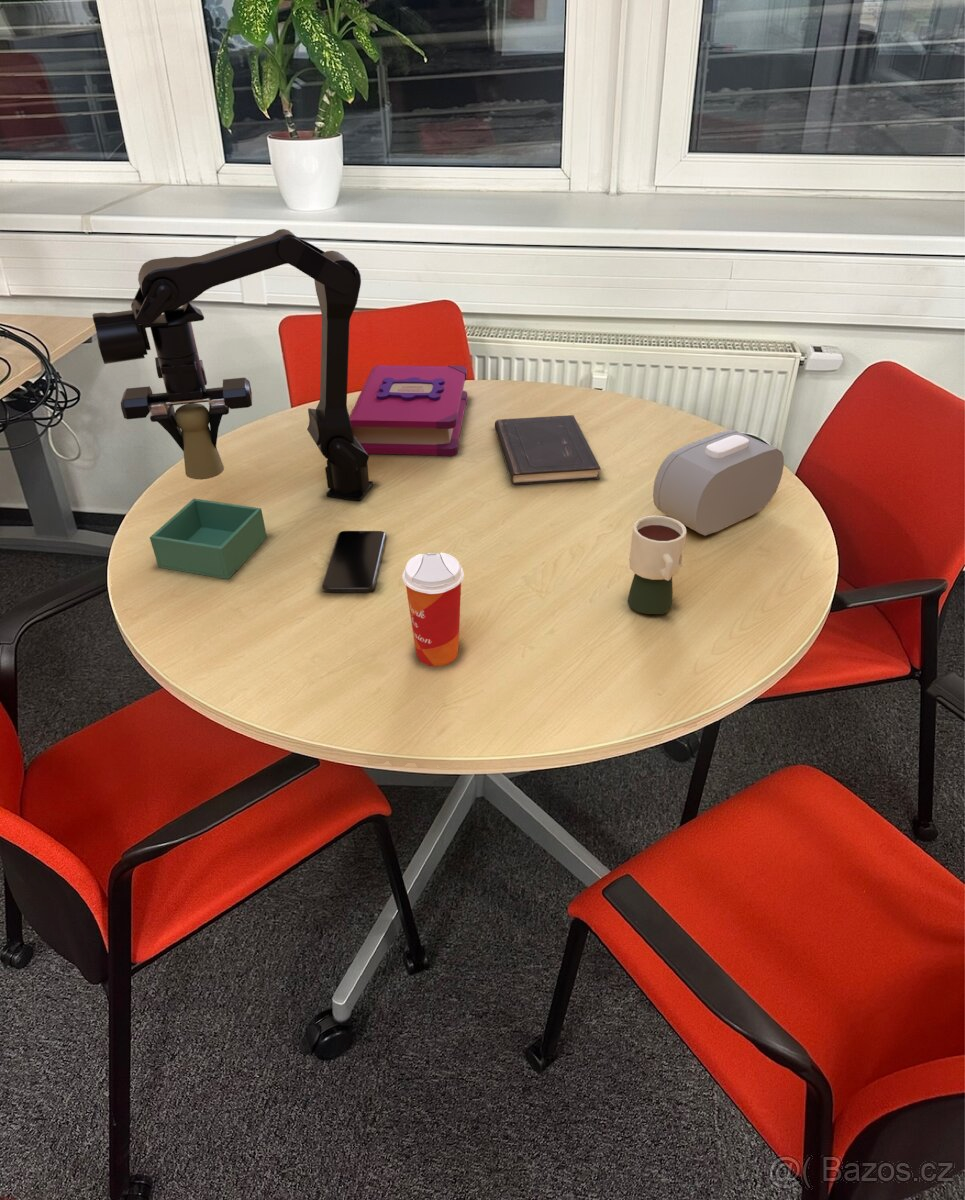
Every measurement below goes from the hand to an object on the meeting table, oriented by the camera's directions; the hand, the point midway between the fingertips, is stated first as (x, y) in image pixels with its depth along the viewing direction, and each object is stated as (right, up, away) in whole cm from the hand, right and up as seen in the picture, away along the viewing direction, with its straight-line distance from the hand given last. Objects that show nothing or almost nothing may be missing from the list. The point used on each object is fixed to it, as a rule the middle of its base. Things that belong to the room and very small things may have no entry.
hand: (199, 448), depth 131 cm
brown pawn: (0, -3, +2) cm, 4 cm away
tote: (+2, -16, 0) cm, 17 cm away
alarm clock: (+83, -10, +7) cm, 84 cm away
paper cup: (+39, -31, -21) cm, 54 cm away
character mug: (+69, -25, -13) cm, 74 cm away
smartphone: (+25, -18, -3) cm, 32 cm away
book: (+30, +12, +37) cm, 50 cm away
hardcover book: (+57, +4, +26) cm, 62 cm away
